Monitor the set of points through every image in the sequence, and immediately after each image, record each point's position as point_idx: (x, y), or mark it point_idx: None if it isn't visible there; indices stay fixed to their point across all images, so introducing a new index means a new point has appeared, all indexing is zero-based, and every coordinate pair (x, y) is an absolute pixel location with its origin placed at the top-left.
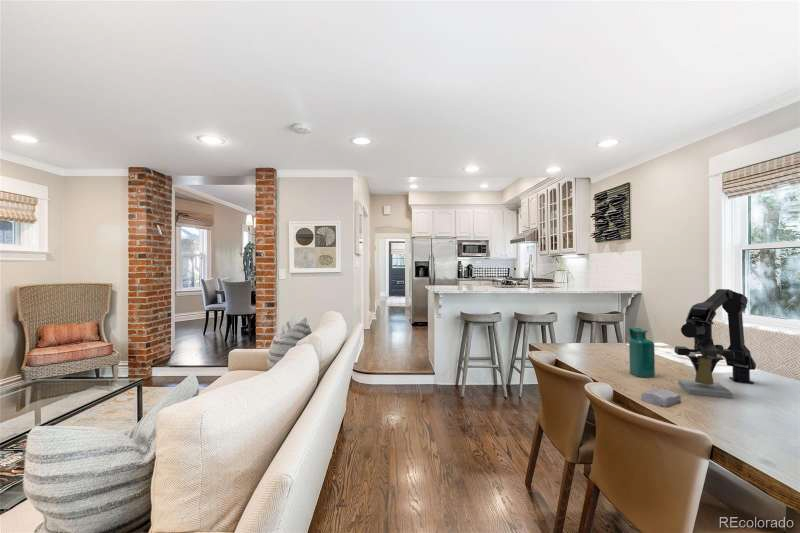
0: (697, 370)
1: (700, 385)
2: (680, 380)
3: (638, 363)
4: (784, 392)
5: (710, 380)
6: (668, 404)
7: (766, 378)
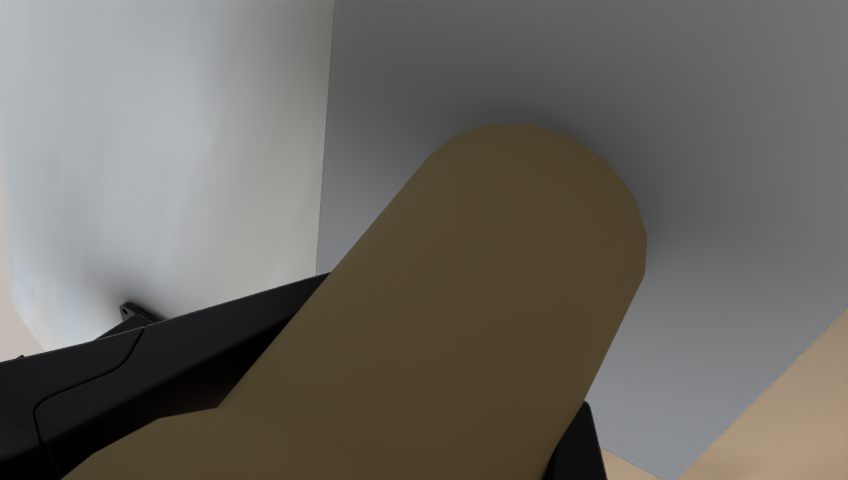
0: (571, 428)
1: None
2: (682, 454)
3: None
4: (28, 135)
5: (463, 156)
6: None
7: None
